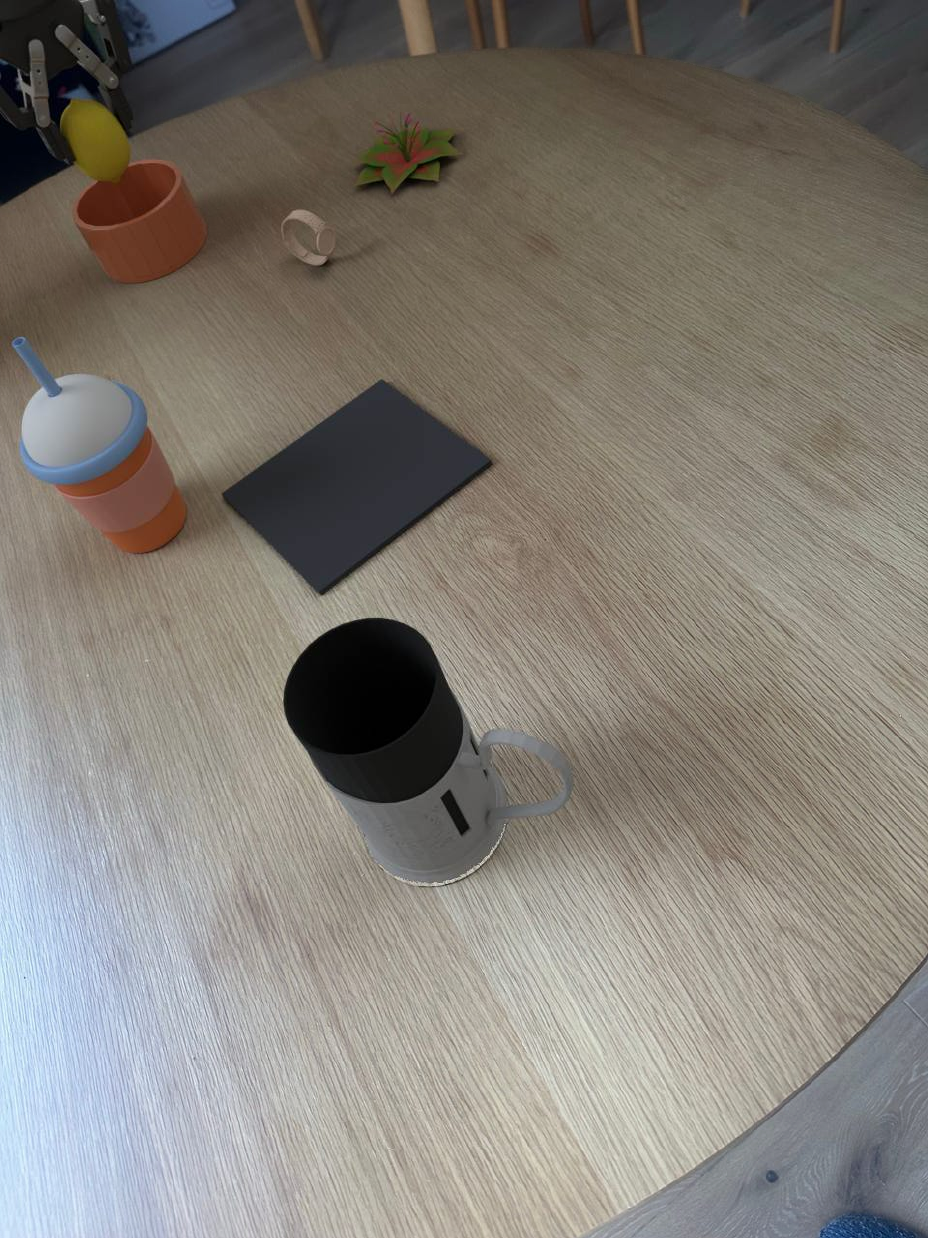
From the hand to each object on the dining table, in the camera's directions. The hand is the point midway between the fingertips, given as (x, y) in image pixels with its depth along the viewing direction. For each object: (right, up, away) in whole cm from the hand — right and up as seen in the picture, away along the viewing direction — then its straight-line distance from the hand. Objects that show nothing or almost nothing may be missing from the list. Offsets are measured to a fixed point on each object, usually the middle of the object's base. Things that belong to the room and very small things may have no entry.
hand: (96, 143), depth 91 cm
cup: (+3, -6, +9) cm, 11 cm away
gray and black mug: (+35, -56, -34) cm, 74 cm away
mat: (+25, -33, -16) cm, 45 cm away
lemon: (+1, -2, +3) cm, 4 cm away
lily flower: (+28, +2, +8) cm, 29 cm away
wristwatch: (+20, -10, +2) cm, 22 cm away
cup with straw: (+9, -36, -14) cm, 40 cm away
